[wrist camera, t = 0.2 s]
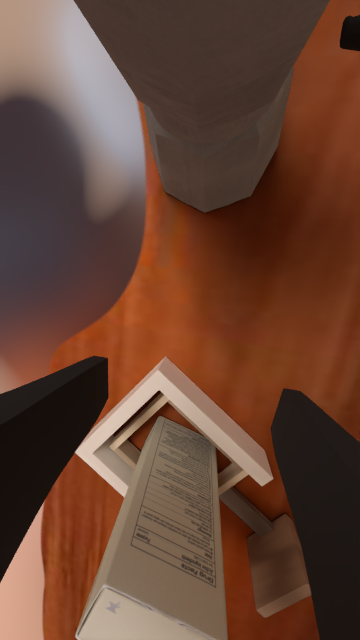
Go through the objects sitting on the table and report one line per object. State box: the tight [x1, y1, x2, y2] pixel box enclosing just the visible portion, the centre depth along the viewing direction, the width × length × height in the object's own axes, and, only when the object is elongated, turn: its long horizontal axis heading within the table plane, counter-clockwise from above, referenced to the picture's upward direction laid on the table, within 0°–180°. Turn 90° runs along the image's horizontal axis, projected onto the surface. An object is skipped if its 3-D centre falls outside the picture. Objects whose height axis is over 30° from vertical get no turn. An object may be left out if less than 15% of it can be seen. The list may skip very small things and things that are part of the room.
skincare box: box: [75, 416, 228, 640], centre depth 16 cm, size 6×4×12 cm
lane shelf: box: [75, 356, 273, 497], centre depth 20 cm, size 11×13×3 cm
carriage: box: [109, 392, 311, 618], centre depth 19 cm, size 8×18×5 cm, turn 47°
